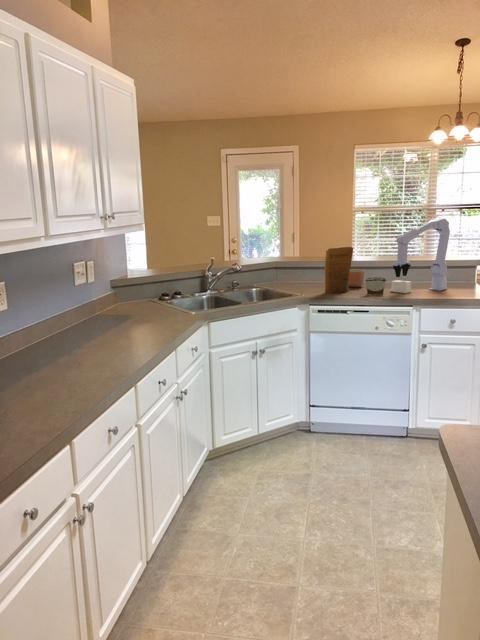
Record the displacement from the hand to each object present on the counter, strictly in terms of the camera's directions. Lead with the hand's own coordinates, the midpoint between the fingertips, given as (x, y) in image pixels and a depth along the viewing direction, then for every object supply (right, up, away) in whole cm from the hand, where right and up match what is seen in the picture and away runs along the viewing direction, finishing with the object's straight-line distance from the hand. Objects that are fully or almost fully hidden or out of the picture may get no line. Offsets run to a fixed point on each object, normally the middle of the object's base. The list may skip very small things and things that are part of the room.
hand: (401, 276), depth 320 cm
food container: (-18, -11, -5) cm, 22 cm away
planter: (-24, -5, +23) cm, 34 cm away
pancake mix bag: (-39, -10, +3) cm, 40 cm away
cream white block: (0, -9, +2) cm, 9 cm away
